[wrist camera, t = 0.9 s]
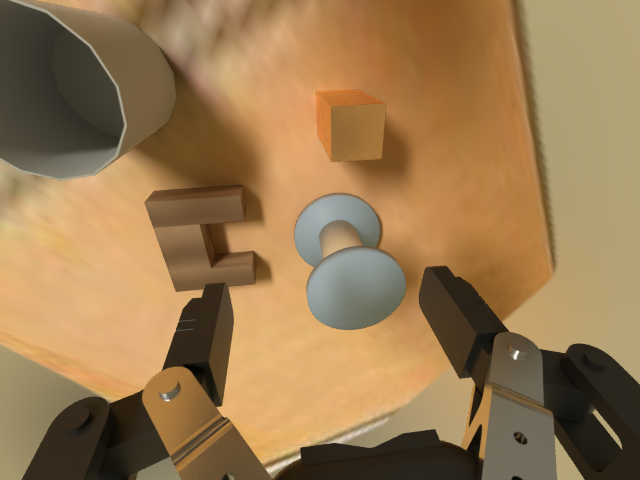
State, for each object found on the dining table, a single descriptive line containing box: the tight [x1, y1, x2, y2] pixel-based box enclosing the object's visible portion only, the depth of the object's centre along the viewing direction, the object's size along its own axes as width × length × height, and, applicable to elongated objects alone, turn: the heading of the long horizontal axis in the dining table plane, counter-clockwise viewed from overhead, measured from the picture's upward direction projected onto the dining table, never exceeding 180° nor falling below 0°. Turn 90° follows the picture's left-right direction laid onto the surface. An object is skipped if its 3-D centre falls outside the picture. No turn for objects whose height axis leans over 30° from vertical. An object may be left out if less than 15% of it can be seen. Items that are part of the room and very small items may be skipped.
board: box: [144, 185, 256, 292], centre depth 31 cm, size 10×8×2 cm
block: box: [316, 90, 386, 162], centre depth 24 cm, size 4×4×8 cm
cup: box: [0, 0, 177, 181], centre depth 20 cm, size 8×8×10 cm
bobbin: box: [294, 193, 406, 330], centre depth 29 cm, size 9×9×10 cm
